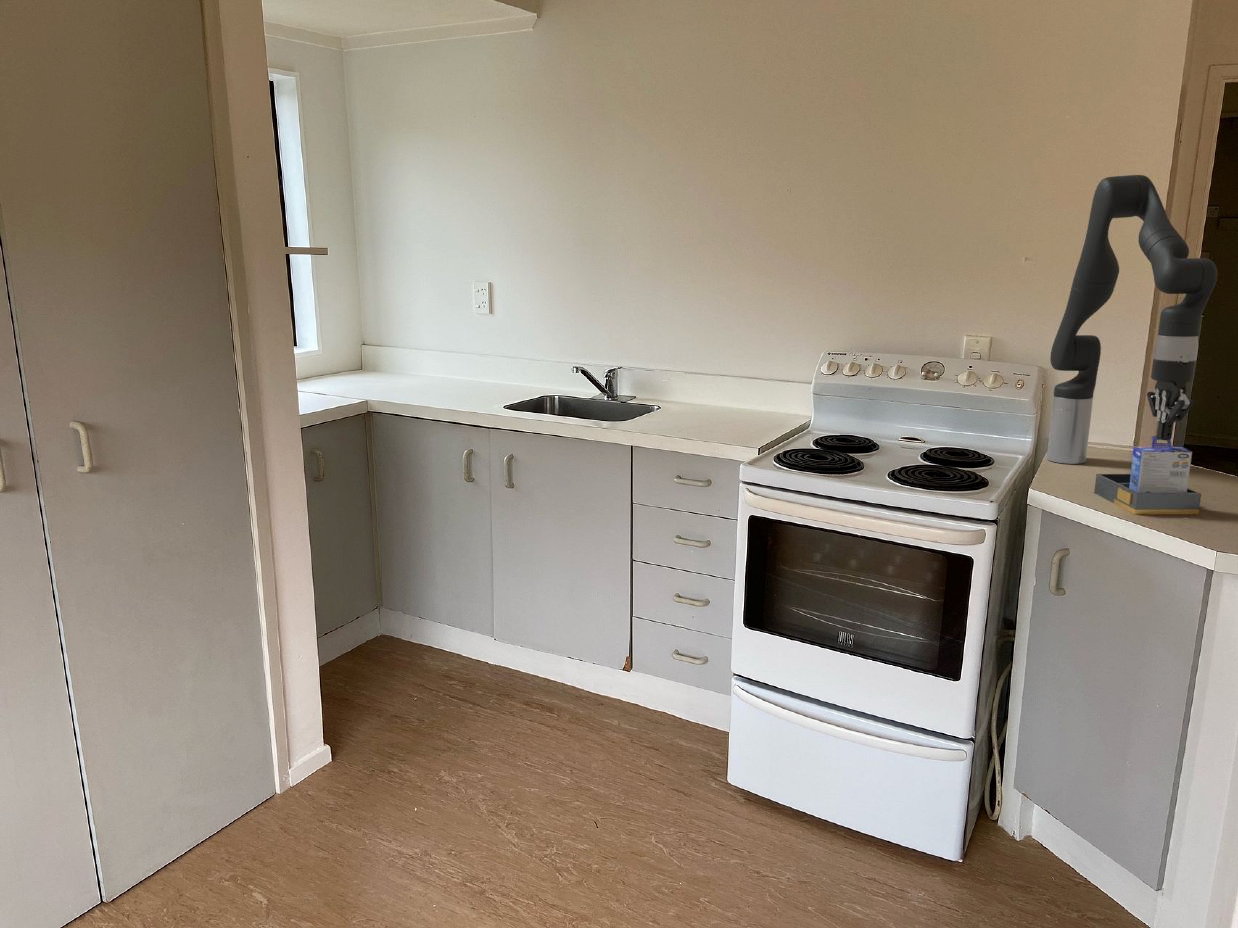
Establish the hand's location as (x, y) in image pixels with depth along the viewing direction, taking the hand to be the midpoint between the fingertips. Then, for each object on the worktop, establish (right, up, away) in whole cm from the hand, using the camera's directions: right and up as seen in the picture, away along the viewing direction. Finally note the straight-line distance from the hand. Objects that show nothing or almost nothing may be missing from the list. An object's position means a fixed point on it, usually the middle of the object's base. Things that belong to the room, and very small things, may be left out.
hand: (1163, 439), depth 178 cm
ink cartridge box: (0, -14, +4) cm, 14 cm away
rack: (0, -14, +8) cm, 16 cm away
